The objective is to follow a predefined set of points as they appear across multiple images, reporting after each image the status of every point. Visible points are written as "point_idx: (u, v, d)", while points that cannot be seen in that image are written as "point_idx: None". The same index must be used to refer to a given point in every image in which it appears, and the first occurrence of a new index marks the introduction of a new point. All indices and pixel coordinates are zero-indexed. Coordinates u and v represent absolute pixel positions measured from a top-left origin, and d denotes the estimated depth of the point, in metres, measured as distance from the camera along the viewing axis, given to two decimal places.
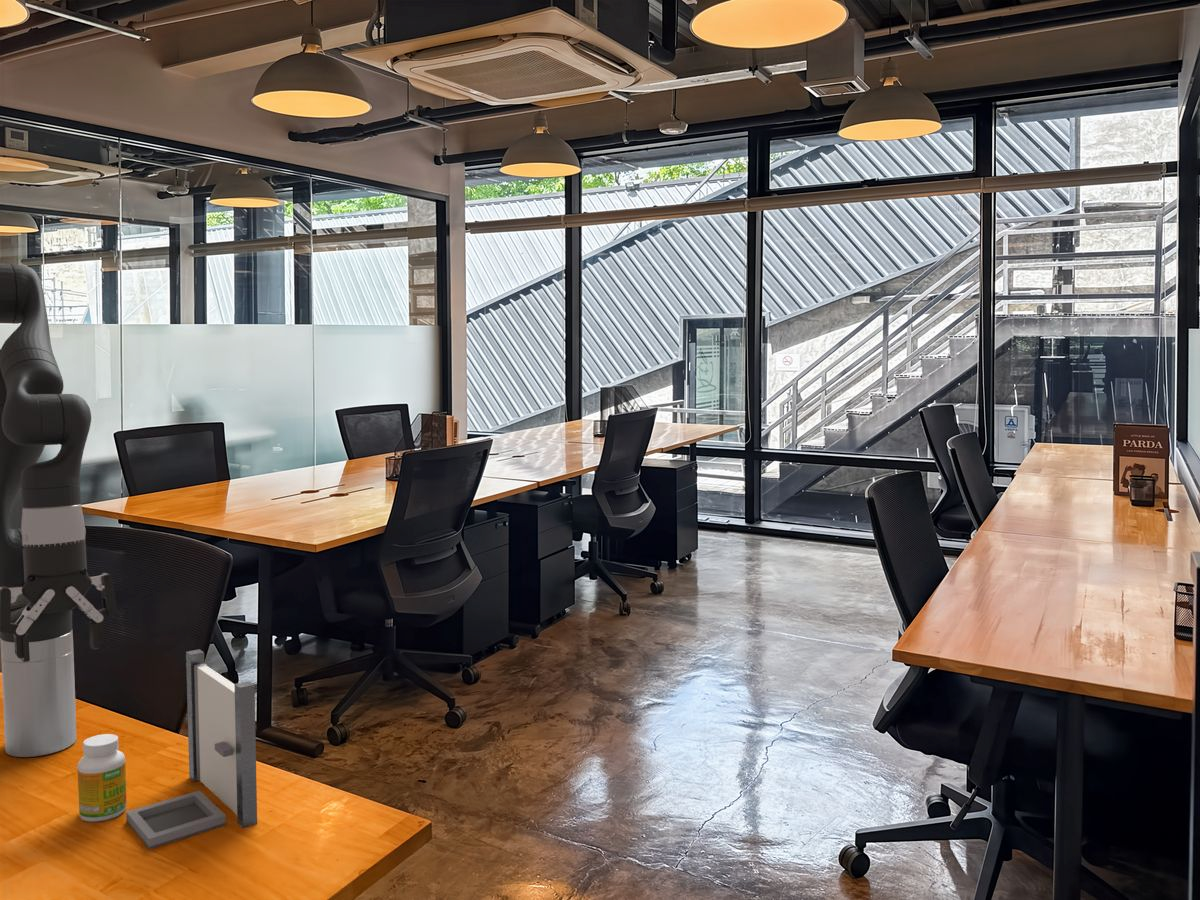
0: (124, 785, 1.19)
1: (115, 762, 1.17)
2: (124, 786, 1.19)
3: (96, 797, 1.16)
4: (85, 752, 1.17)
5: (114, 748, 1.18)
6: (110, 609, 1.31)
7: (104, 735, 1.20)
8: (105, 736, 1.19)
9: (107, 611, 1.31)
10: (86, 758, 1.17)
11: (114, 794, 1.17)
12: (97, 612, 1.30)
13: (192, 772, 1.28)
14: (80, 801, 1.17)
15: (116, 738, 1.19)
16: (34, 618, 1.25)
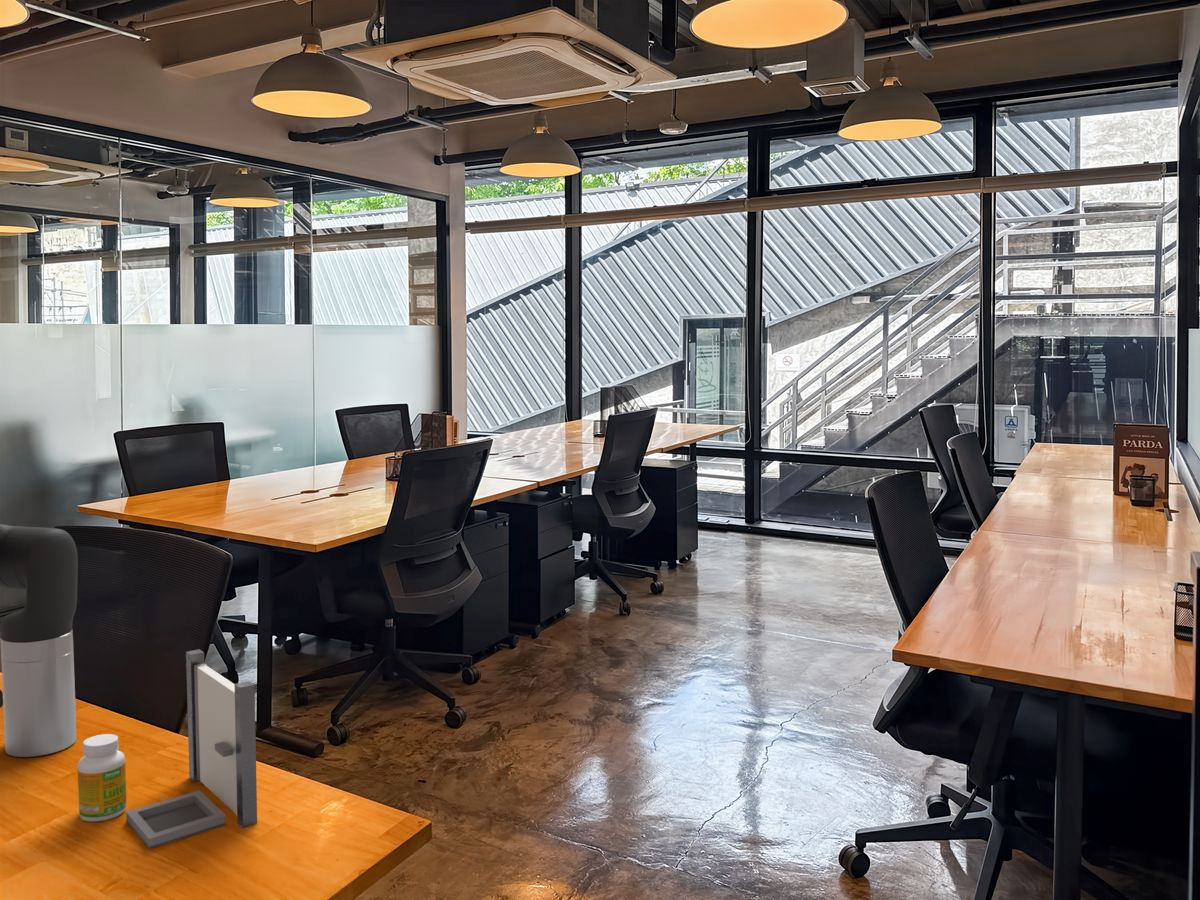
0: (124, 785, 1.19)
1: (115, 762, 1.17)
2: (124, 786, 1.19)
3: (96, 797, 1.16)
4: (85, 752, 1.17)
5: (114, 748, 1.18)
6: None
7: (104, 735, 1.20)
8: (105, 736, 1.19)
9: None
10: (86, 758, 1.17)
11: (114, 794, 1.17)
12: None
13: (192, 772, 1.28)
14: (80, 801, 1.17)
15: (116, 738, 1.19)
16: None
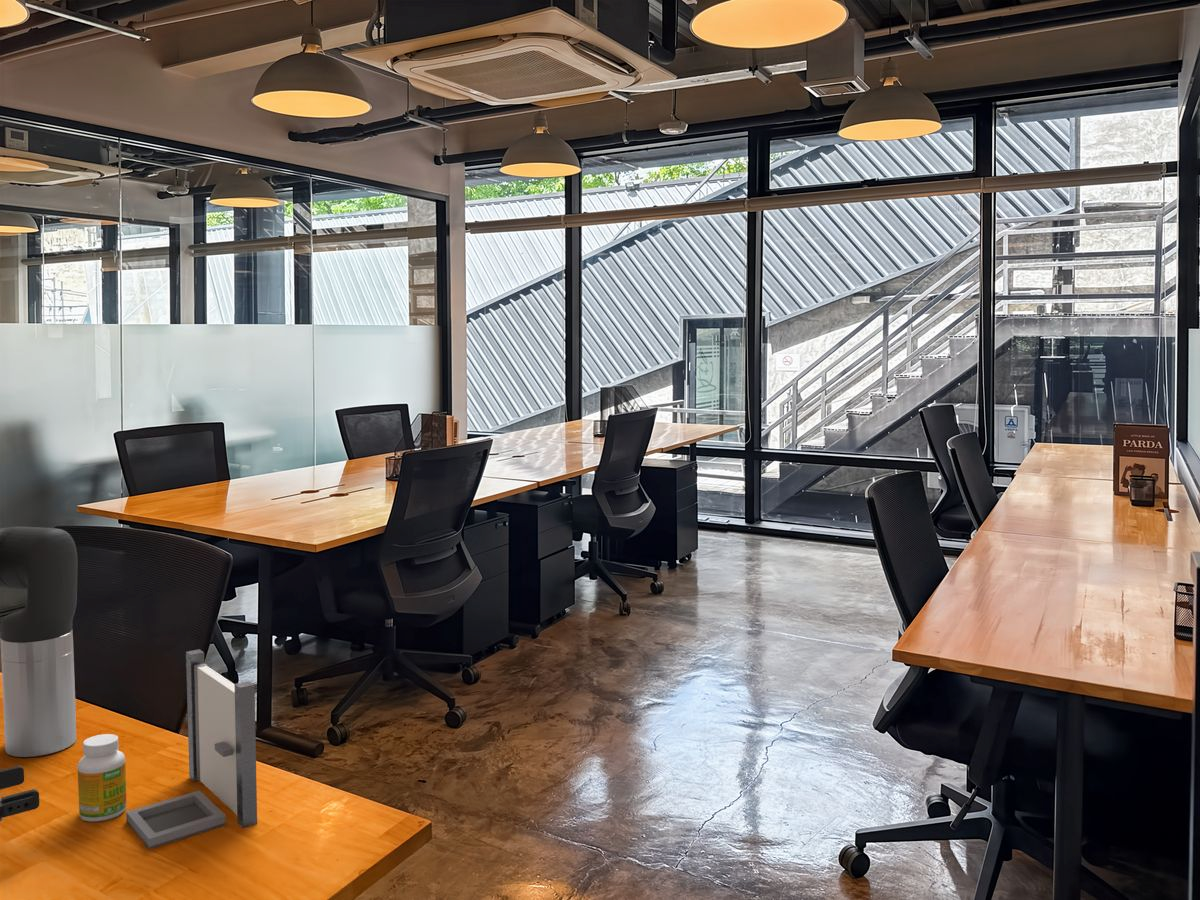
0: (124, 785, 1.19)
1: (115, 762, 1.17)
2: (124, 786, 1.19)
3: (96, 797, 1.16)
4: (85, 752, 1.17)
5: (114, 748, 1.18)
6: None
7: (104, 735, 1.20)
8: (105, 736, 1.19)
9: None
10: (86, 758, 1.17)
11: (114, 794, 1.17)
12: None
13: (192, 772, 1.28)
14: (80, 801, 1.17)
15: (116, 738, 1.19)
16: None
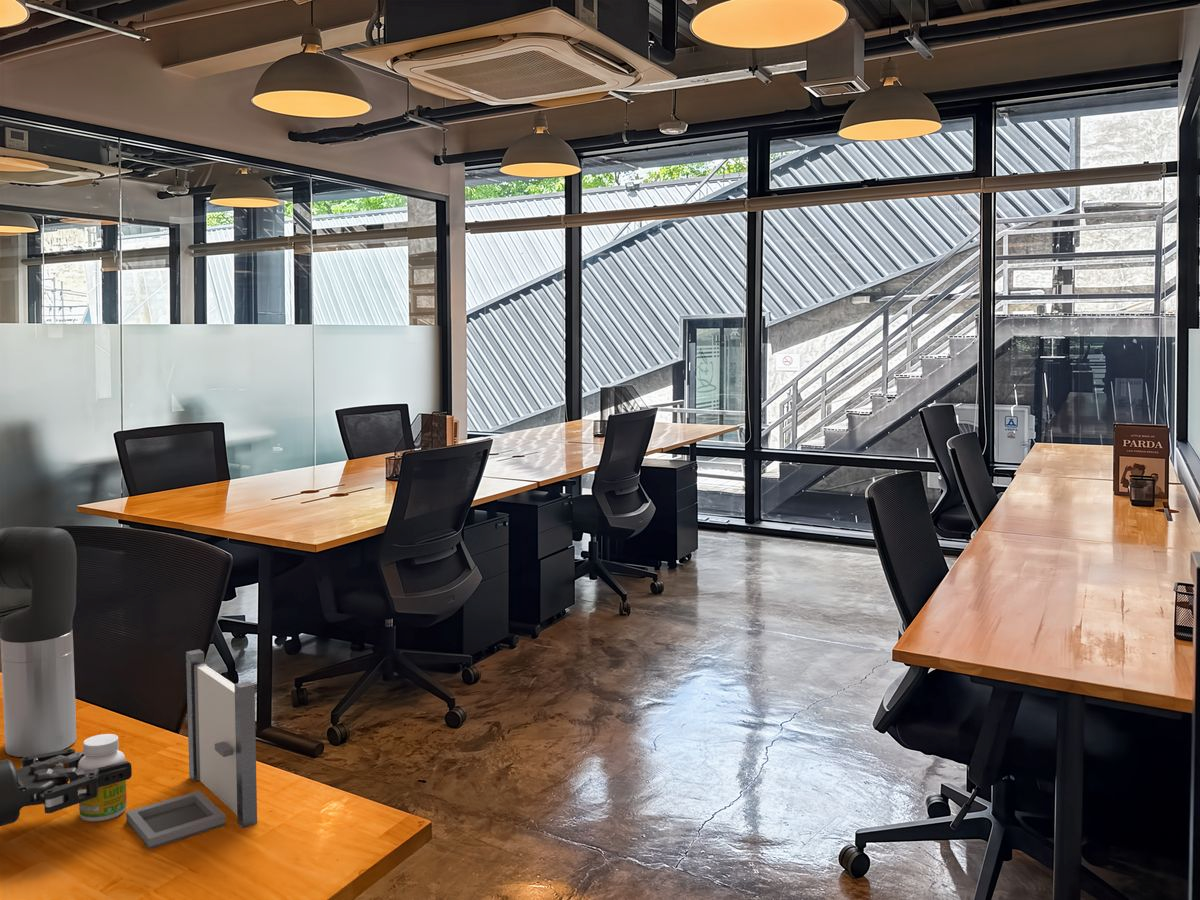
0: (124, 785, 1.19)
1: (115, 761, 1.17)
2: (124, 786, 1.19)
3: None
4: (85, 752, 1.17)
5: (114, 748, 1.18)
6: None
7: (104, 735, 1.20)
8: (105, 736, 1.19)
9: None
10: (86, 758, 1.17)
11: (114, 793, 1.17)
12: (86, 791, 1.14)
13: (192, 772, 1.28)
14: None
15: (116, 738, 1.19)
16: None
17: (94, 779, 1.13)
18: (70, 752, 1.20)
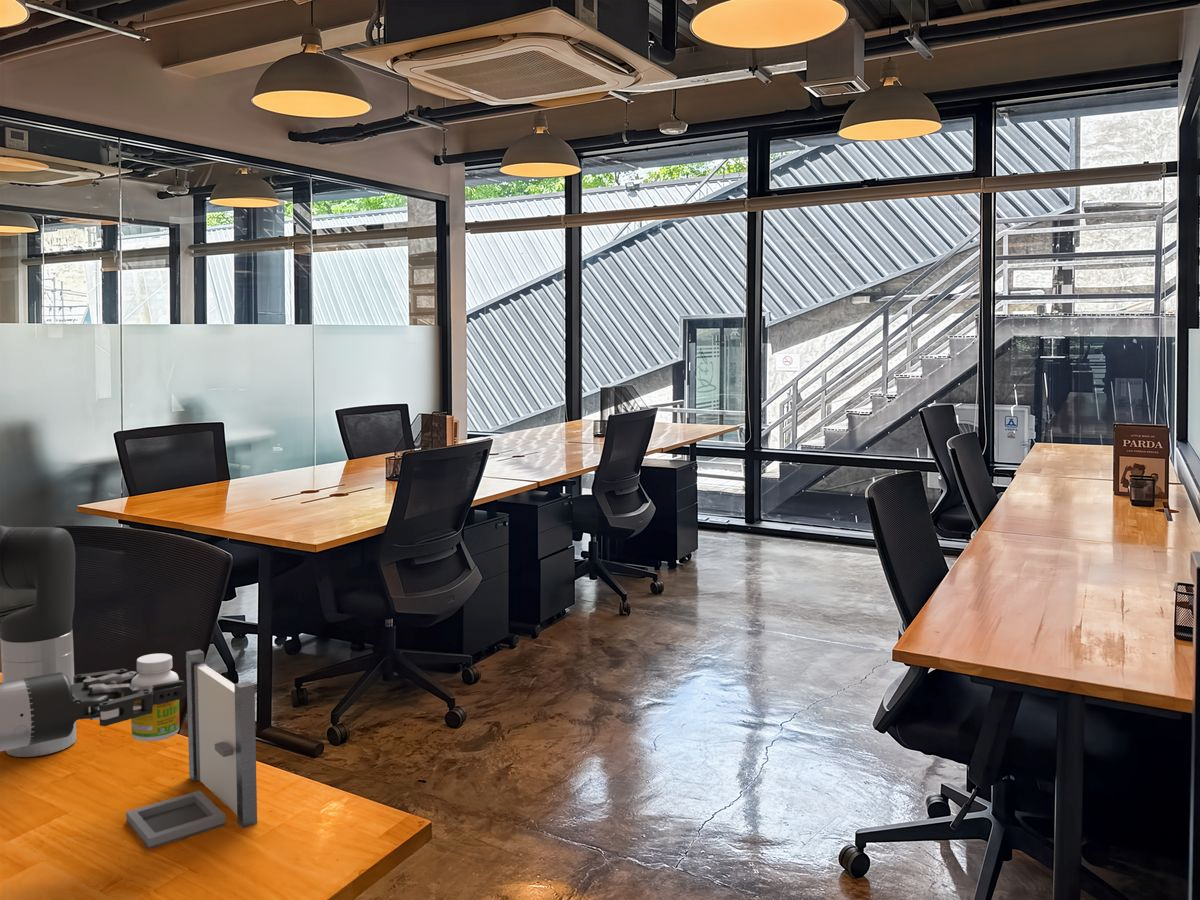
0: (178, 706, 1.15)
1: (169, 680, 1.14)
2: (177, 707, 1.15)
3: (149, 715, 1.12)
4: (139, 669, 1.13)
5: (168, 666, 1.14)
6: None
7: (158, 654, 1.16)
8: (159, 655, 1.16)
9: None
10: (140, 676, 1.13)
11: (168, 713, 1.14)
12: None
13: (192, 772, 1.28)
14: (133, 720, 1.13)
15: (170, 657, 1.15)
16: None
17: (149, 694, 1.09)
18: (123, 672, 1.17)
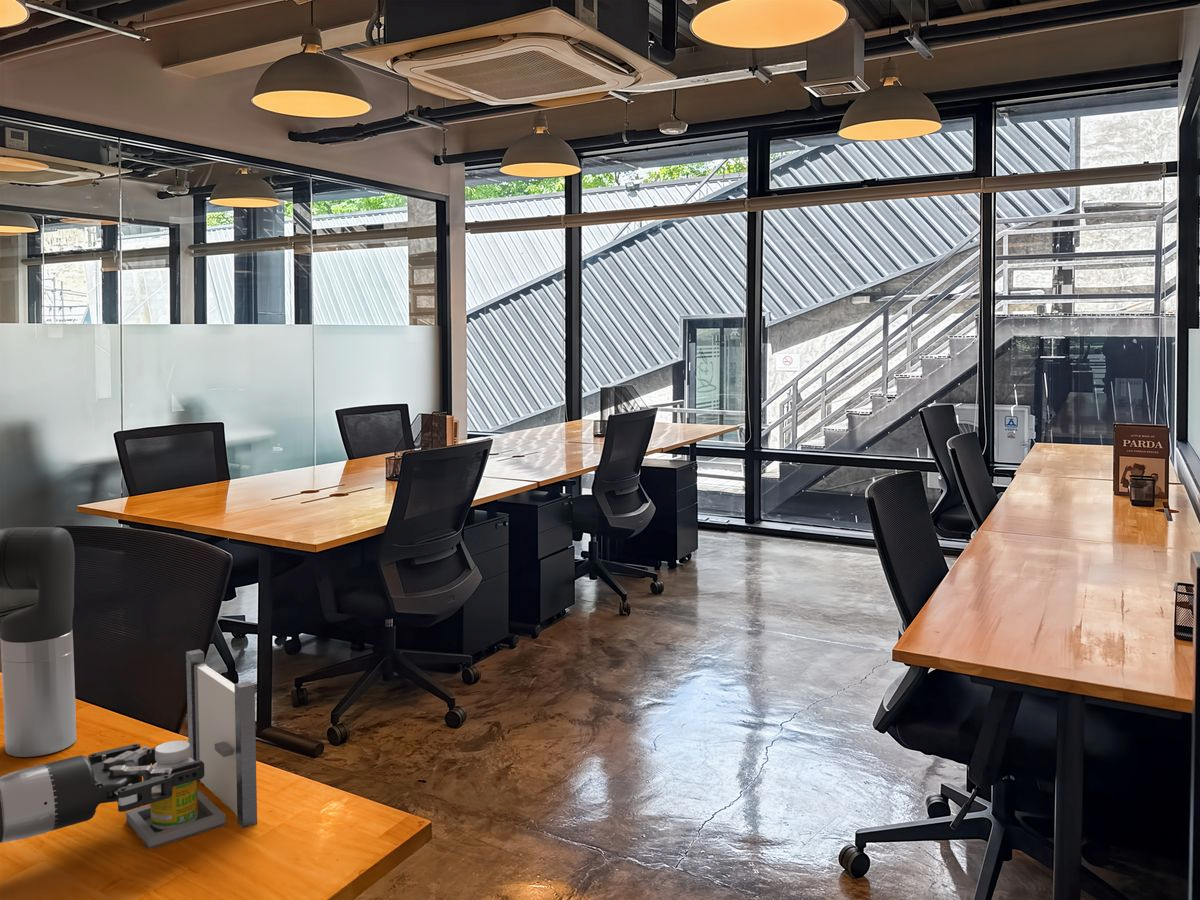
0: (196, 793, 1.16)
1: None
2: (196, 794, 1.16)
3: (169, 805, 1.13)
4: (157, 759, 1.14)
5: (186, 754, 1.15)
6: None
7: (175, 741, 1.17)
8: (176, 743, 1.17)
9: None
10: (158, 765, 1.14)
11: (187, 802, 1.15)
12: None
13: None
14: (152, 809, 1.14)
15: (188, 745, 1.16)
16: None
17: (168, 778, 1.09)
18: (137, 747, 1.18)
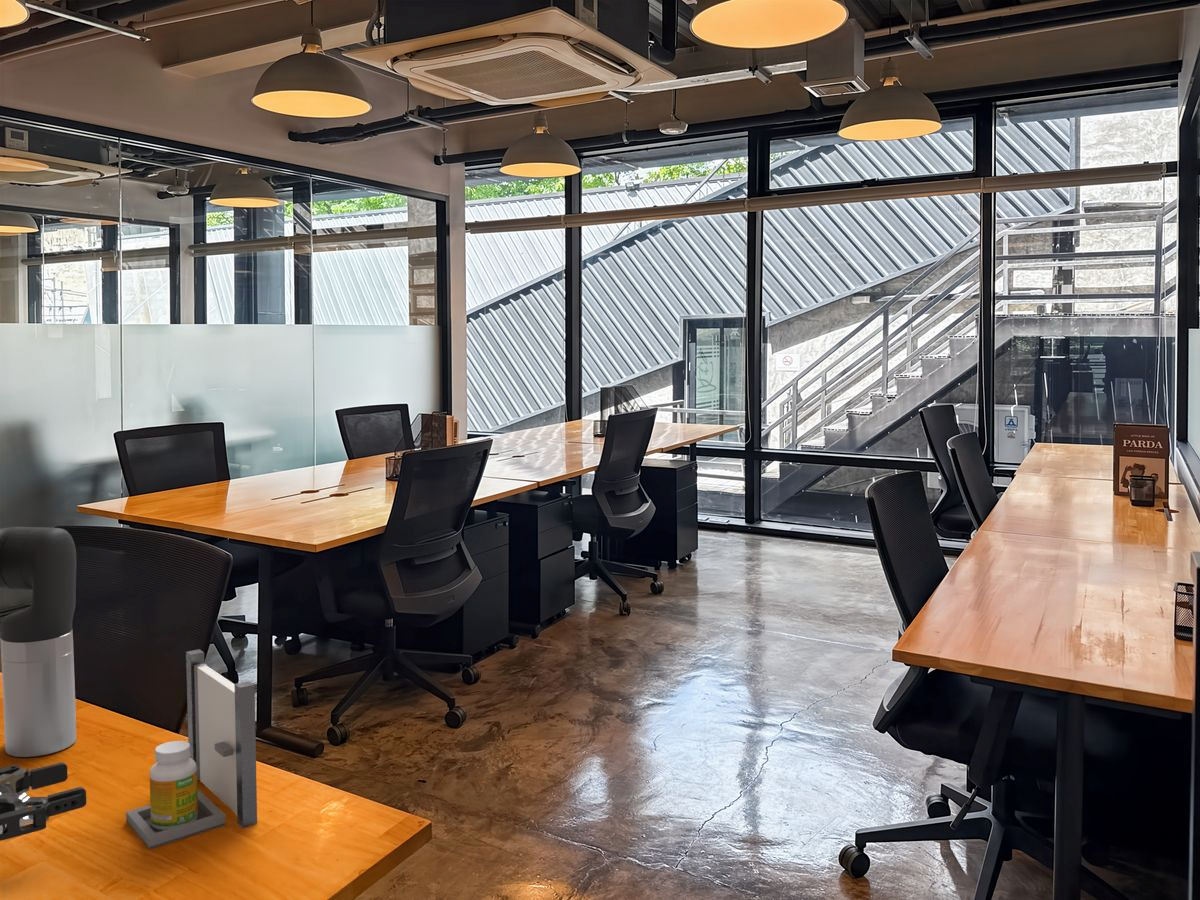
0: (196, 794, 1.16)
1: (188, 769, 1.15)
2: (196, 794, 1.16)
3: (169, 805, 1.13)
4: (158, 759, 1.14)
5: (187, 755, 1.15)
6: None
7: (175, 742, 1.17)
8: (176, 743, 1.17)
9: None
10: (158, 765, 1.14)
11: (187, 802, 1.15)
12: None
13: None
14: (152, 809, 1.14)
15: (188, 745, 1.16)
16: None
17: (40, 809, 1.00)
18: (15, 768, 1.10)
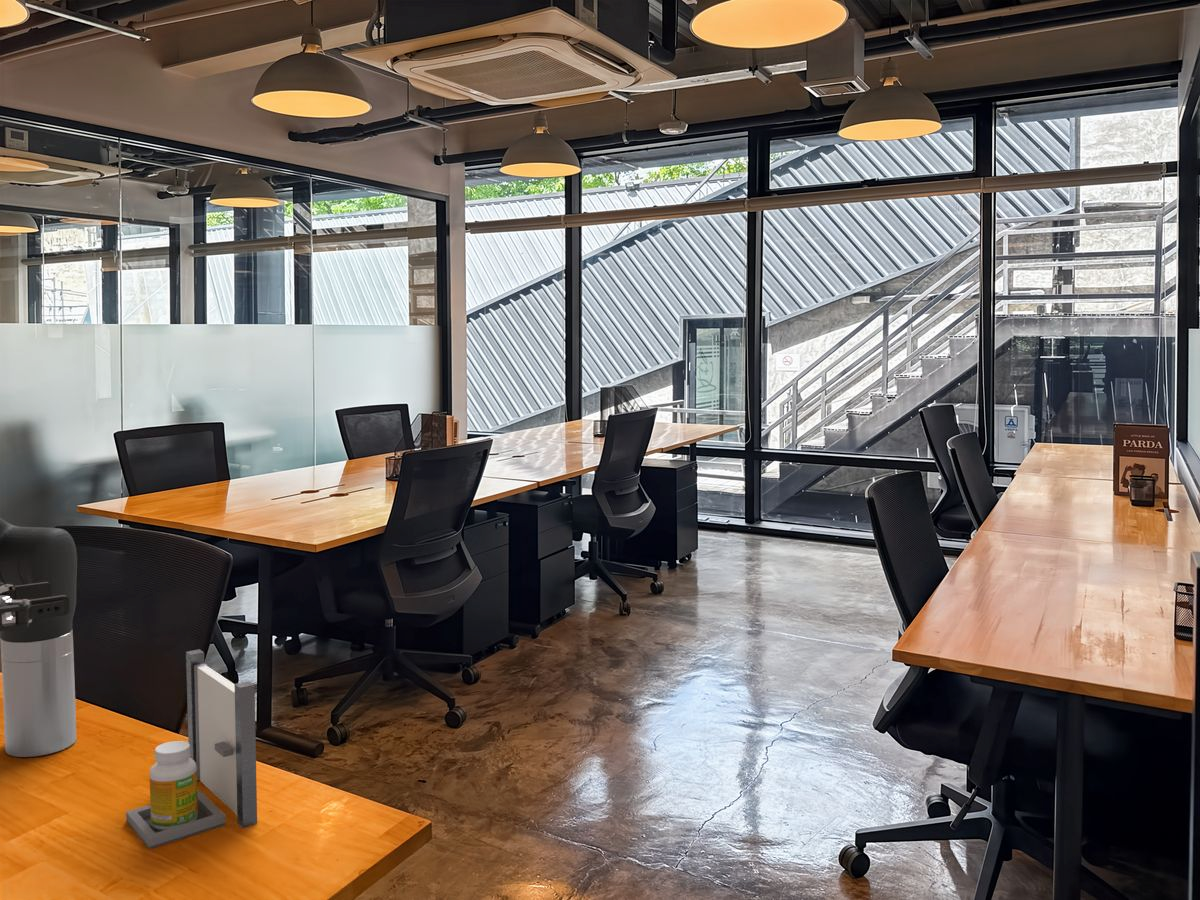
0: (196, 794, 1.16)
1: (188, 769, 1.15)
2: (196, 794, 1.16)
3: (169, 805, 1.13)
4: (157, 759, 1.14)
5: (186, 755, 1.15)
6: None
7: (175, 742, 1.17)
8: (176, 743, 1.17)
9: None
10: (158, 766, 1.14)
11: (187, 802, 1.15)
12: None
13: None
14: (152, 810, 1.14)
15: (188, 745, 1.16)
16: None
17: (22, 606, 1.01)
18: None
